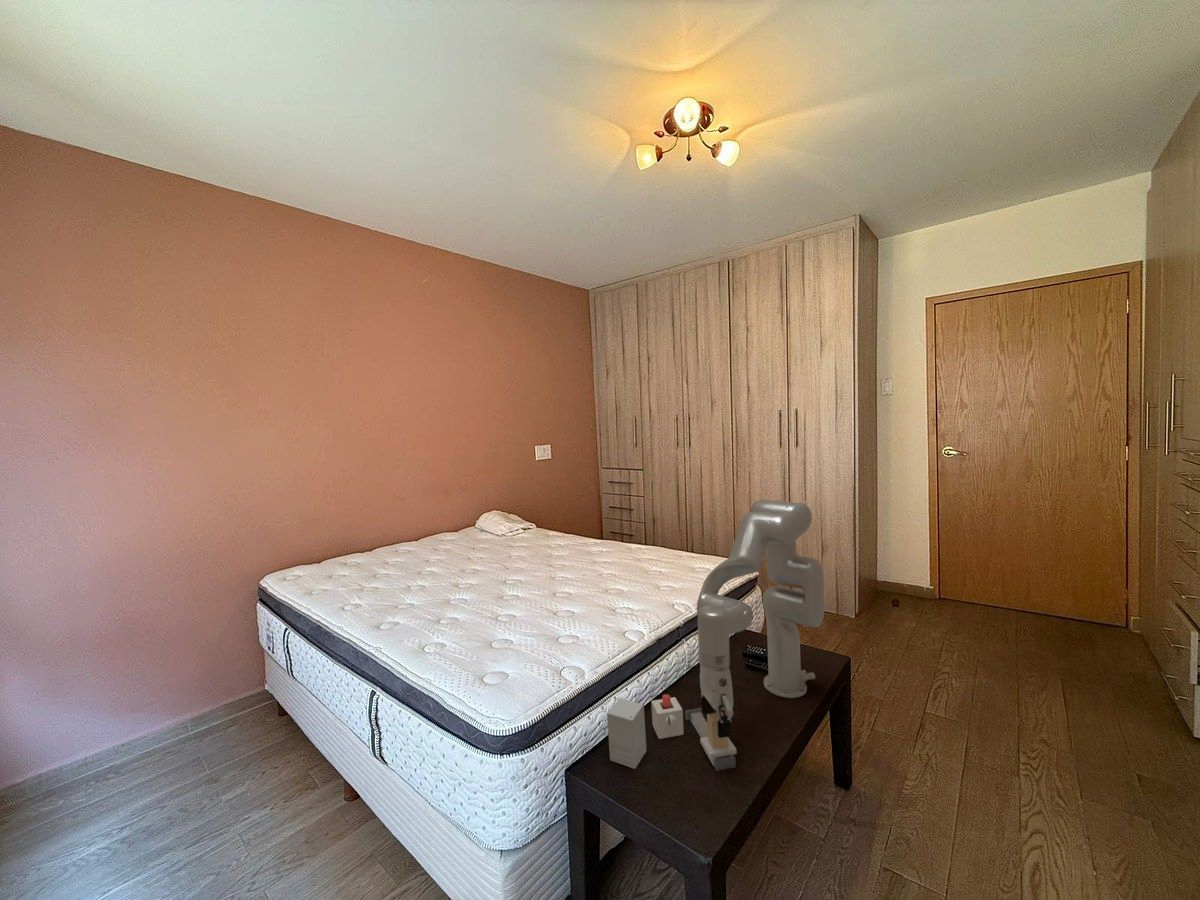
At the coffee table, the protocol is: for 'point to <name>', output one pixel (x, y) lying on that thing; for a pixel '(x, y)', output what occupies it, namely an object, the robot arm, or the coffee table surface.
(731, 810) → the coffee table surface
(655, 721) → the white cube box
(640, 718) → the supplement box
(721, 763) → the rail
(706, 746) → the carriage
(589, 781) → the coffee table surface
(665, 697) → the button
